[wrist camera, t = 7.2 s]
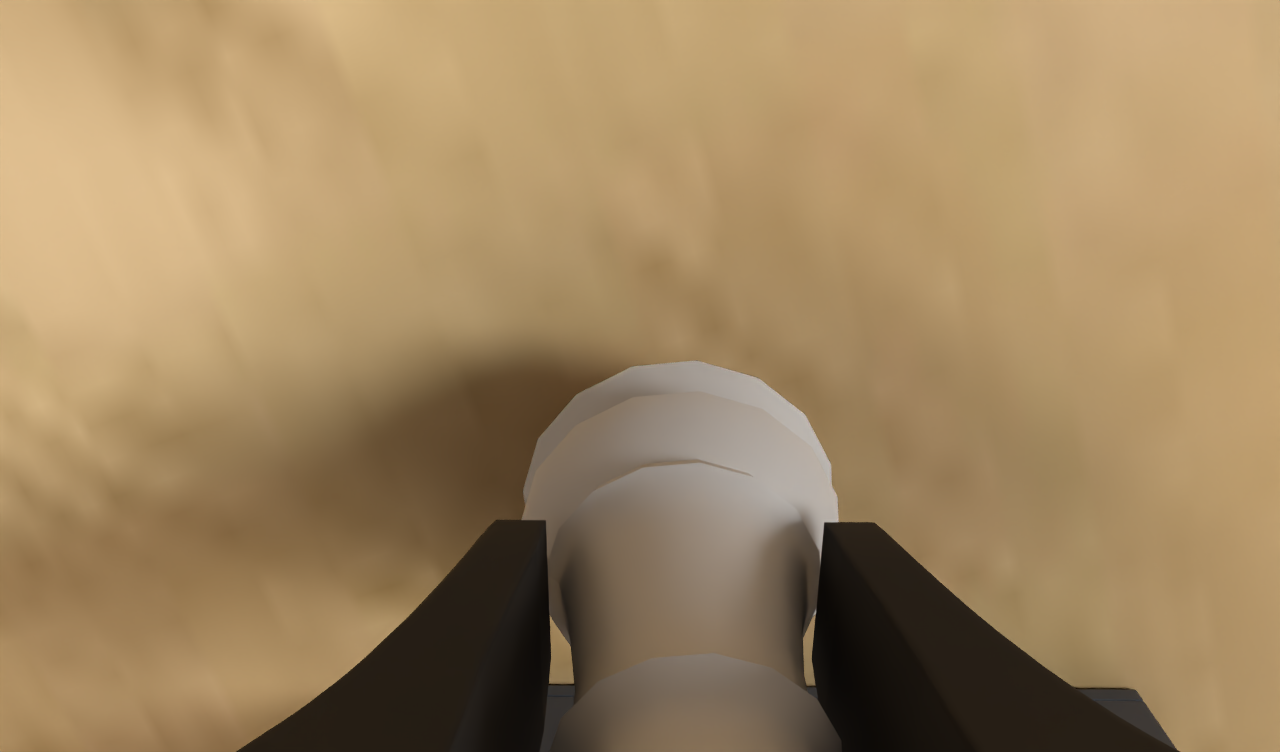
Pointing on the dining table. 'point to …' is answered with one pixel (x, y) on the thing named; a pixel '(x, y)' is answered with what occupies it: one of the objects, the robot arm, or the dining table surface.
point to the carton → (562, 699)
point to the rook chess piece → (684, 561)
